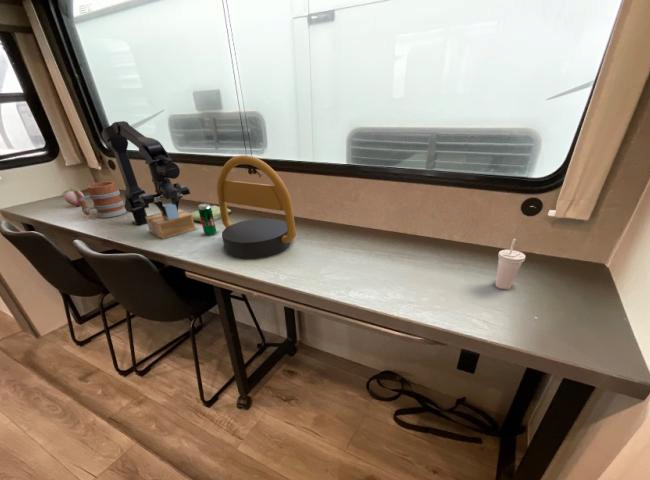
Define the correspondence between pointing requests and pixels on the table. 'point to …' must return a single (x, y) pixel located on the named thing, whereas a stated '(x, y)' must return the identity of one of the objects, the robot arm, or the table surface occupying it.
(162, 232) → the wooden box
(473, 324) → the table surface
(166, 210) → the block
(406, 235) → the table surface
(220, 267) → the table surface
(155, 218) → the lid
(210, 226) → the soda can
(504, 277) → the smoothie
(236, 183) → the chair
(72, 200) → the decorative fruit
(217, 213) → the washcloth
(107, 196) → the mug
